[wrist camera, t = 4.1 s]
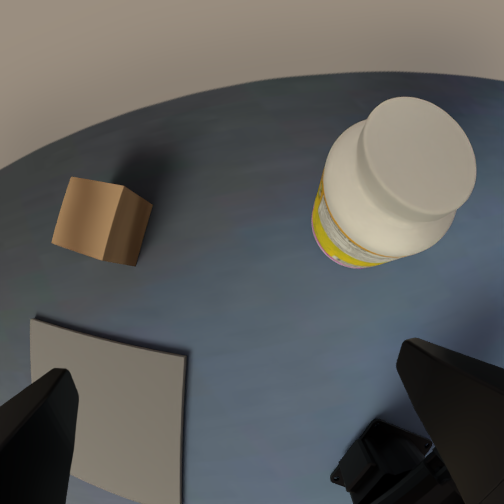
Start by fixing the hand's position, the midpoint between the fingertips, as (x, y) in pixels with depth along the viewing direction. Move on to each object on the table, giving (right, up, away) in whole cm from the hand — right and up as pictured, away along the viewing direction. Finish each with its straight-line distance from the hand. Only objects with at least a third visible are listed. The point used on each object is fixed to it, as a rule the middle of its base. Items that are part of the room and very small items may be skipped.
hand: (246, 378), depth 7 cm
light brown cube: (-11, +5, +17) cm, 20 cm away
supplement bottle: (+8, +5, +15) cm, 17 cm away
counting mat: (-13, -12, +15) cm, 23 cm away
